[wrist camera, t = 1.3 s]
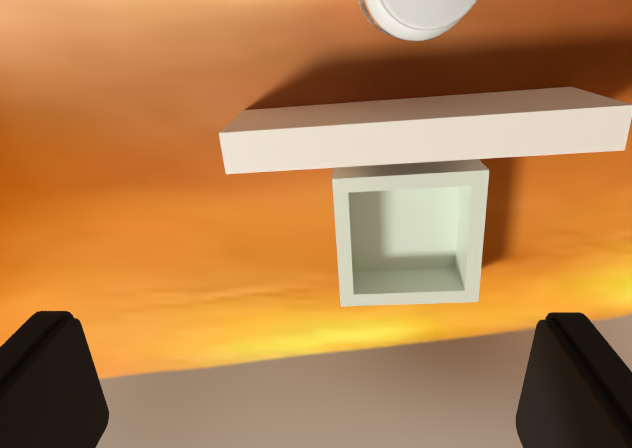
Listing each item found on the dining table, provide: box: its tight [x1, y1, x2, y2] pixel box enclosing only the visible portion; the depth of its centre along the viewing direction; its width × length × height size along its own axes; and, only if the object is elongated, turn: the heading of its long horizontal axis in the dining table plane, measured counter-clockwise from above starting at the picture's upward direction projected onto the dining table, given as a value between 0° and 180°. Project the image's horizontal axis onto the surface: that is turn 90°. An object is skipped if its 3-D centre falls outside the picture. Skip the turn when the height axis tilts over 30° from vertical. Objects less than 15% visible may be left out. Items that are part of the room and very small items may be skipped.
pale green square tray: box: [332, 159, 489, 306], centre depth 32 cm, size 10×10×4 cm
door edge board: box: [219, 87, 632, 174], centre depth 28 cm, size 3×22×7 cm, turn 94°
